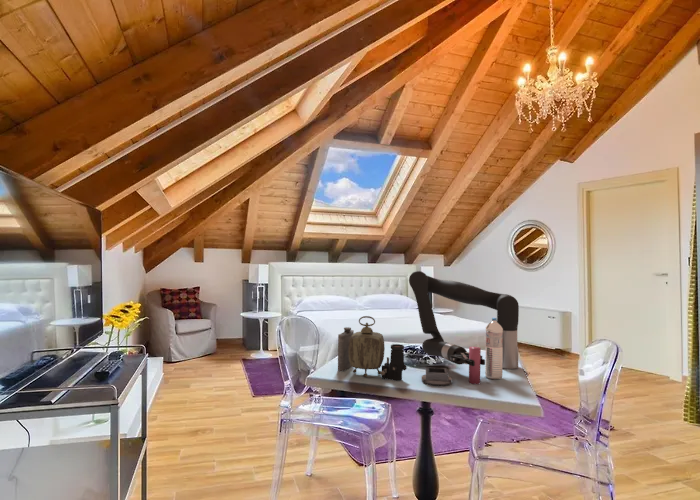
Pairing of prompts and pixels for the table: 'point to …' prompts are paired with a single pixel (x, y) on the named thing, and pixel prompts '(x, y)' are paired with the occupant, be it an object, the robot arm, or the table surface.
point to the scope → (394, 364)
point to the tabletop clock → (366, 349)
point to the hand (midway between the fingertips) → (479, 363)
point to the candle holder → (436, 377)
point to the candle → (475, 370)
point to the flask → (344, 349)
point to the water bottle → (494, 350)
